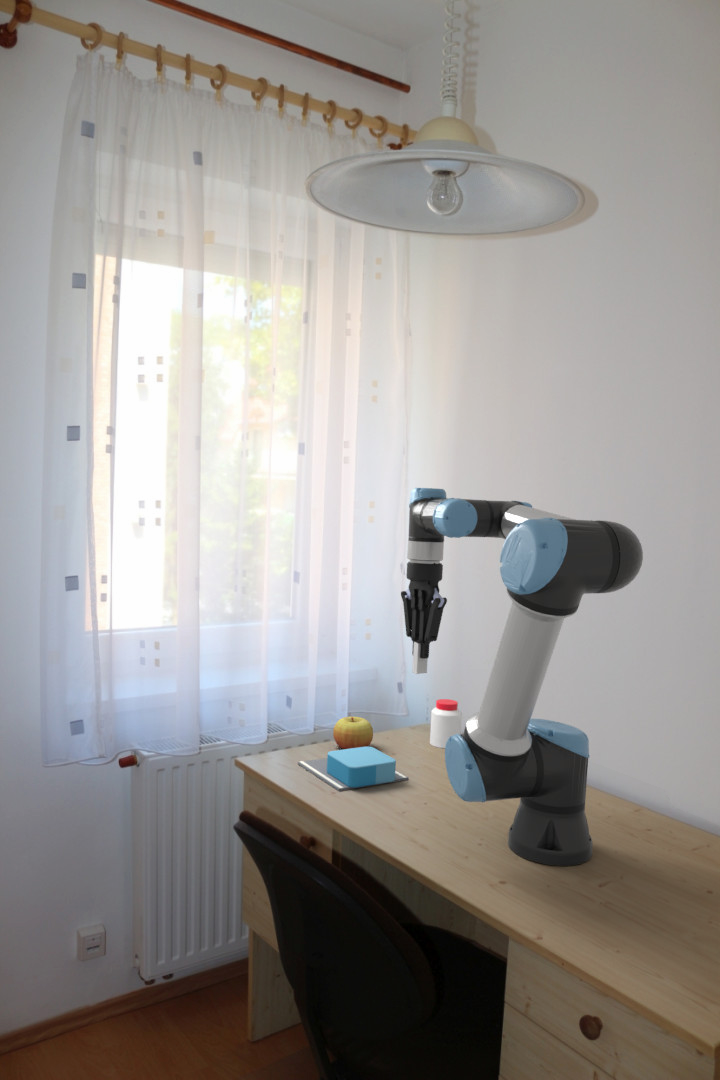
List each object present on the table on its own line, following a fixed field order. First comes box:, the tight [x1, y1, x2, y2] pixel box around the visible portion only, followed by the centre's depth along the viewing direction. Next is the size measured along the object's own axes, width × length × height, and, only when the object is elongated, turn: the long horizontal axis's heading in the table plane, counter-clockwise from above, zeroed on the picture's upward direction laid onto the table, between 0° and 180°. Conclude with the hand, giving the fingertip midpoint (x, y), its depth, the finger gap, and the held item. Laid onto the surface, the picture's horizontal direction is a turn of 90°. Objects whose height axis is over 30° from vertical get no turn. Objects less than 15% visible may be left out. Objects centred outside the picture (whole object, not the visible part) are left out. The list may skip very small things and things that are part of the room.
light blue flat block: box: [326, 746, 397, 788], centre depth 192 cm, size 12×4×12 cm
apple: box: [332, 716, 374, 750], centre depth 213 cm, size 10×10×8 cm
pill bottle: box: [429, 698, 462, 749], centre depth 220 cm, size 8×8×11 cm
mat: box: [297, 757, 409, 792], centre depth 196 cm, size 19×18×1 cm
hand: (419, 672), depth 182 cm, fingers closed
